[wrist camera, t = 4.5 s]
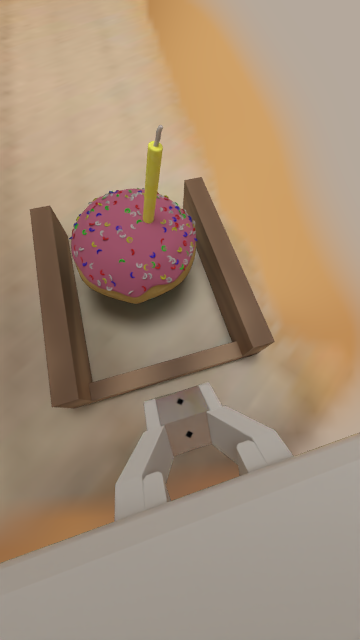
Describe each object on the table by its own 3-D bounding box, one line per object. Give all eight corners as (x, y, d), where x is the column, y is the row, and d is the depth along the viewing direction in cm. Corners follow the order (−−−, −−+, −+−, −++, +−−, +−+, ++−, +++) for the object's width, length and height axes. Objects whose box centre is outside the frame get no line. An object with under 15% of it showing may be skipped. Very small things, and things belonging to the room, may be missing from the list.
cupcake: (188, 236, 23) (205, 67, 12) (194, 322, 20) (225, 204, 9) (95, 237, 22) (19, 63, 11) (86, 325, 19) (-28, 205, 8)
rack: (74, 408, 17) (51, 407, 14) (50, 239, 22) (30, 209, 19) (256, 353, 19) (274, 341, 16) (197, 209, 24) (201, 177, 21)
